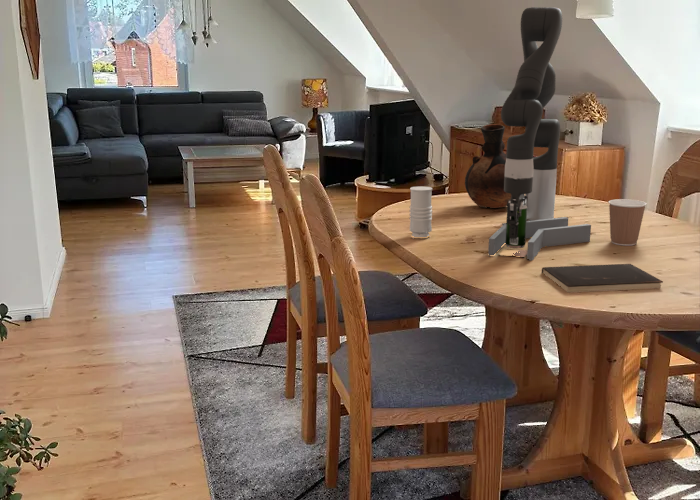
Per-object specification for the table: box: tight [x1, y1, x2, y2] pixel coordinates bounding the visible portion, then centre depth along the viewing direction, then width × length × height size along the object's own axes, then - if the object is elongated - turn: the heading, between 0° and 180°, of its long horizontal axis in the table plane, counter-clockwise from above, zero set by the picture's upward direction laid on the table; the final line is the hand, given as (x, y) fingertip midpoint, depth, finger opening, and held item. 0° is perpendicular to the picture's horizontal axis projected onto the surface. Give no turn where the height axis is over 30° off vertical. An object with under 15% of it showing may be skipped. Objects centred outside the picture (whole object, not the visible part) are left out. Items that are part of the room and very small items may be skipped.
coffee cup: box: [608, 198, 647, 247], centre depth 205 cm, size 10×10×12 cm
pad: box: [512, 249, 527, 258], centre depth 196 cm, size 7×7×1 cm
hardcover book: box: [541, 263, 664, 293], centre depth 171 cm, size 16×23×2 cm
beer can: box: [505, 203, 528, 249], centre depth 194 cm, size 5×5×12 cm
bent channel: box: [487, 216, 592, 261], centre depth 202 cm, size 23×36×5 cm, turn 111°
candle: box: [408, 185, 433, 237], centre depth 214 cm, size 7×7×15 cm
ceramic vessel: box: [464, 123, 511, 209], centre depth 255 cm, size 21×18×30 cm
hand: (515, 235), depth 195 cm, fingers closed on beer can, 5 cm apart
